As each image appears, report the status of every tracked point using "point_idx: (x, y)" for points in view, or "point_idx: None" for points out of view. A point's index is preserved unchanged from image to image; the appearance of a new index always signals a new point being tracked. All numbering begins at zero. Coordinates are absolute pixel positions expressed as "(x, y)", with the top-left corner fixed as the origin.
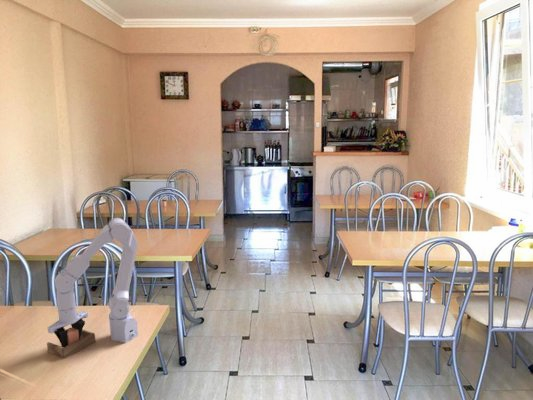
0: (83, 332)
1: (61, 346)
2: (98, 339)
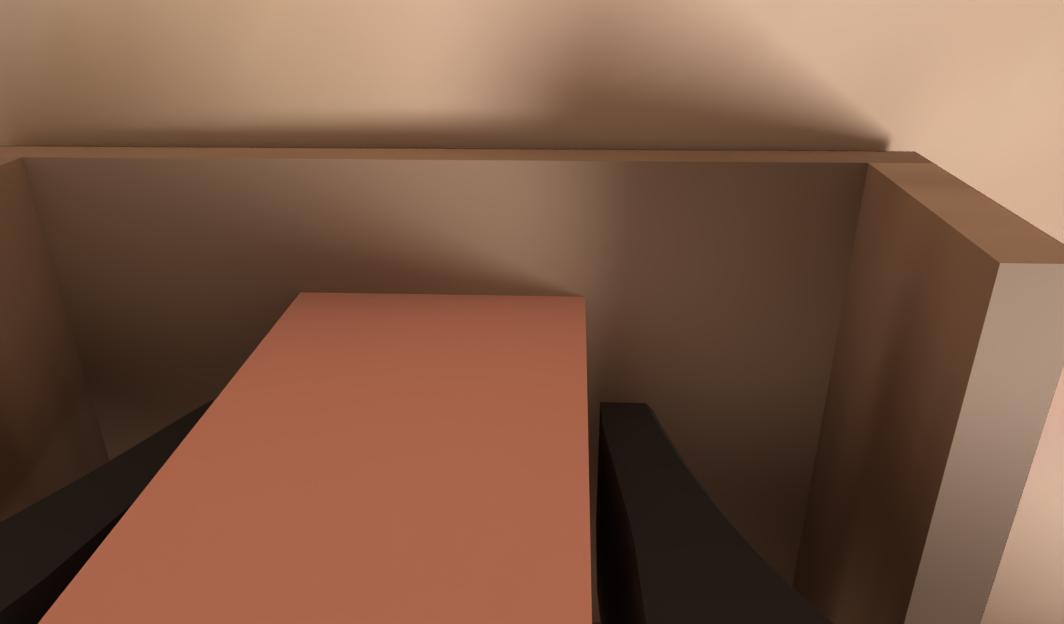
0: (898, 560)
1: (331, 192)
2: (1017, 534)
